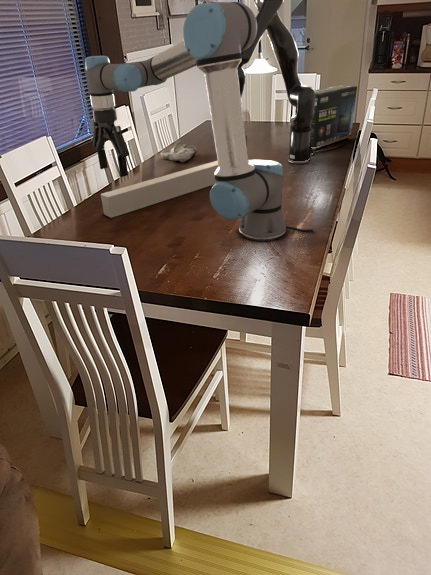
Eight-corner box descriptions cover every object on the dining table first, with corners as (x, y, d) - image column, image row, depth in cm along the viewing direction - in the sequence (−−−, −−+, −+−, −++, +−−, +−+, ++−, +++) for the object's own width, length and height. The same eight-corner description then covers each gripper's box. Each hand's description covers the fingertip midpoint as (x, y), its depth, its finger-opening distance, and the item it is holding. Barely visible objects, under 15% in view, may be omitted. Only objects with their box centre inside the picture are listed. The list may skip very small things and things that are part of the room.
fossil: (184, 156, 217) (163, 136, 220) (174, 174, 223) (154, 154, 227) (205, 153, 231) (186, 134, 234) (195, 171, 237) (176, 152, 240)
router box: (314, 151, 231) (318, 94, 217) (296, 148, 237) (299, 92, 224) (352, 138, 251) (358, 85, 238) (335, 135, 258) (340, 83, 245)
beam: (111, 218, 165) (107, 197, 161) (103, 214, 168) (100, 194, 164) (246, 173, 204) (246, 156, 200) (238, 171, 207) (238, 154, 203)
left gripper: (134, 111, 145) (142, 176, 156) (95, 103, 161) (105, 163, 172) (114, 114, 141) (123, 182, 152) (76, 106, 157) (87, 167, 168)
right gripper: (251, 120, 188) (251, 159, 196) (228, 115, 197) (228, 153, 205) (238, 122, 183) (238, 163, 192) (215, 118, 193) (215, 157, 201)
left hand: (113, 172), depth 162 cm, fingers open, 13 cm apart
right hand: (233, 158), depth 198 cm, fingers open, 8 cm apart
